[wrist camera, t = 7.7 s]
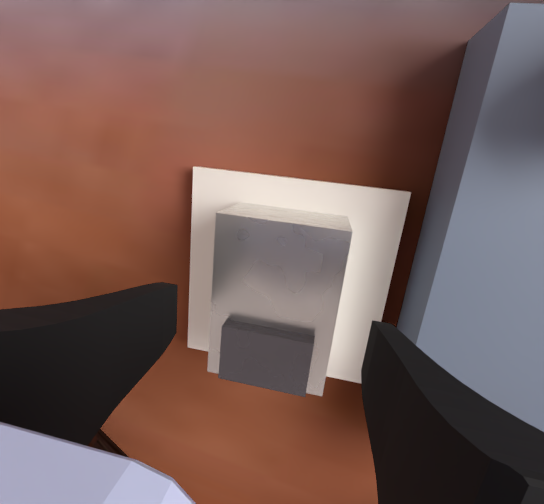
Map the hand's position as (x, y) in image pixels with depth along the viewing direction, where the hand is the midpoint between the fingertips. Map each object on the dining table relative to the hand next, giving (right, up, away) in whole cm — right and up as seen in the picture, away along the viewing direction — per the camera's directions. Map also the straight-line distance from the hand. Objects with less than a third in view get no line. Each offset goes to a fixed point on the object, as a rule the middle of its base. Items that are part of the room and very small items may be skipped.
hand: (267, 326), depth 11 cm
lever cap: (+1, +1, +4) cm, 5 cm away
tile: (+1, +1, +5) cm, 5 cm away
